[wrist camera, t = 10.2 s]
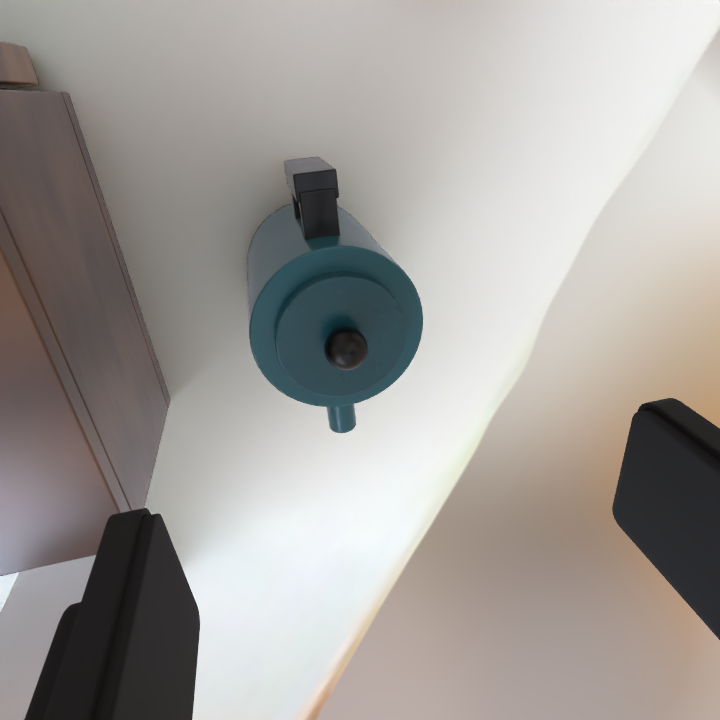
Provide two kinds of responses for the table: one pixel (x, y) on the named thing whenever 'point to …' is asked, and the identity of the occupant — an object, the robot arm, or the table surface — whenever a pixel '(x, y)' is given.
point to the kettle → (327, 301)
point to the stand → (66, 347)
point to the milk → (34, 627)
